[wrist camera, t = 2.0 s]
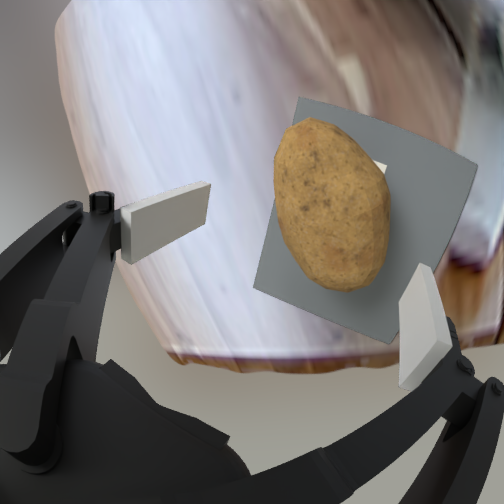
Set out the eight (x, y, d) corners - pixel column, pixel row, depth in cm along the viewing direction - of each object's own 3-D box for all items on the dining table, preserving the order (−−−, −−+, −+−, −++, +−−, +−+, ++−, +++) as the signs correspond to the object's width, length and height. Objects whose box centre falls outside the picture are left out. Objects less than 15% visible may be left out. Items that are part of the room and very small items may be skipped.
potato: (365, 109, 20) (360, 95, 14) (401, 254, 24) (406, 298, 17) (269, 138, 25) (228, 140, 19) (310, 268, 29) (286, 310, 22)
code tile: (299, 97, 23) (298, 96, 22) (476, 164, 18) (478, 165, 17) (254, 286, 34) (252, 287, 33) (389, 342, 28) (389, 345, 28)
